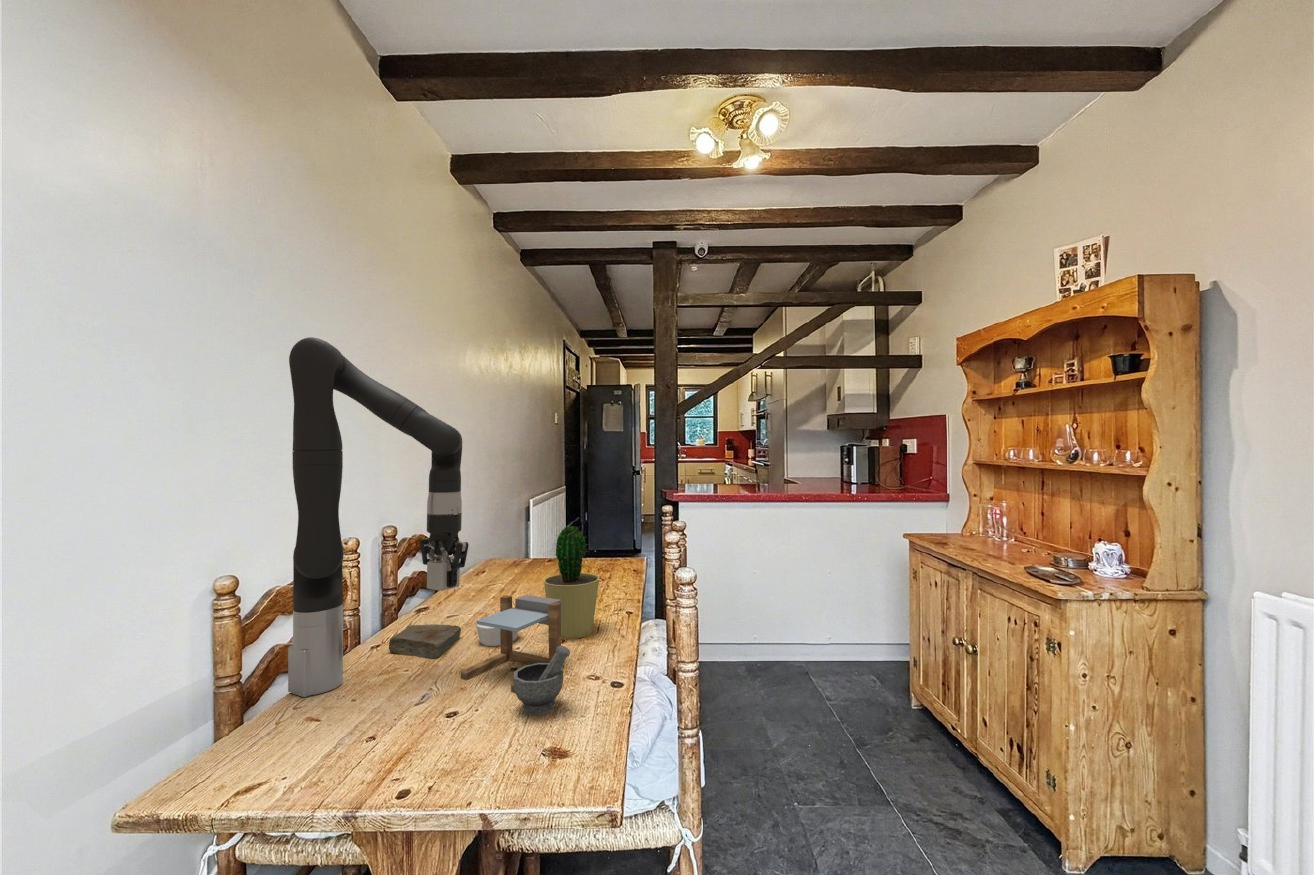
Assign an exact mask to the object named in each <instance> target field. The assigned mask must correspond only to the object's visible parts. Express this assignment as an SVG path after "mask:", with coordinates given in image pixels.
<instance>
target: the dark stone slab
mask: <svg viewBox="0 0 1314 875" xmlns="http://www.w3.org/2000/svg"><path fill="white" fill-rule="evenodd" d="M461 632H462V628H461V626H460V625H451V624H437V623H436V624H413V625H412V624H411V625H408V626H407V627H405V628H404V629H403V630H402V631H400V632H397V633H396V634H395V635H393V636H392V637H391V638H390V639H389V642H388V650H389V651H390V652H391V653H393V654H395V655H400V656H404V655H405V656H410V657H411V656H412V657H416V658H423V659H438V658H440V657H441V656H442V655H444V654H445V653H446V652H447V651H448V650H449V649H451V647H452V646H453V645H455V643H456V642H457V641H459V640H460V638H461V634H462V633H461Z"/></svg>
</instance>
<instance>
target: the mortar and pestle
mask: <svg viewBox="0 0 1314 875" xmlns="http://www.w3.org/2000/svg"><path fill="white" fill-rule="evenodd" d="M570 655H571V651H570V649H569V647H567V646H565V645H562V644H561V645H560V646H558V647H557V652H556V653H555V655H554V656H553V658H552V660H551V661H550V663H535V664H531V665H530V664H527V665H523V666H522V667H520V668H518V669H516V670H515V671H514V672H513V683H514V690H515V692H514V694H515V696H516V697H517V699H518V700H519V701H520V702H522V706H523V707H522V709H523V711H522V712H523V713H524V714H526V715H529V716H542V715H545V714H549V713H550V712H551V711H553V710H555V699H556V698H557V697H558V696H559V694H560V693H561V691H562V689H563V685H564V668H562V666H563V664H565V663H566V660H567V658H568V657H570Z"/></svg>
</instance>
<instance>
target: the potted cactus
mask: <svg viewBox="0 0 1314 875" xmlns="http://www.w3.org/2000/svg"><path fill="white" fill-rule="evenodd" d="M583 534H584V532H583V531H581V530H580V529H579V527H578V526H573V525H571V526H563V528H562V529H561V531H559V533H556V535H555V534H554V536H556V537H557V538H556V540H555V542H556V543H553V544H554V546H555V548H553V549H554V551H553V552H554V555H553V556H552V558H553V557H554V558H553V561H558V562H557V566H558V568H557V571H556V573H557V572H558V574H554V575H550V576H548V577H545V578H544V579H543V584H544V586H543V587H544V593H545V598H552V599H559V600H561V611H562V621H561V640H574V639H581V638H585V637H587V636H589V635H590V634H592V633H593V630H594V623H595V622H594V621H595V614H596V607H597V598H598V590H599V585H600V584H599V581H600V576H599V575H597V574H593V573H587V572H582V569H583V562H584V559H583V558H585V556H586V552H587V545H589V544H588V543H587V544H586V536H584V535H583ZM558 570H559V571H558Z"/></svg>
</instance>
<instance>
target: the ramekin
mask: <svg viewBox="0 0 1314 875" xmlns="http://www.w3.org/2000/svg"><path fill="white" fill-rule="evenodd" d="M475 628H476V629H477V635H478V639H479V642H480V644H482V645H483V646H486V647H501V642H500V629H499V628H494V627H488V626H483V625H478V624H477V623H476V624H475ZM518 633H519V631H518V632H515V631H512V636H513V642H514V641H516V639H517V637H518Z"/></svg>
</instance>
